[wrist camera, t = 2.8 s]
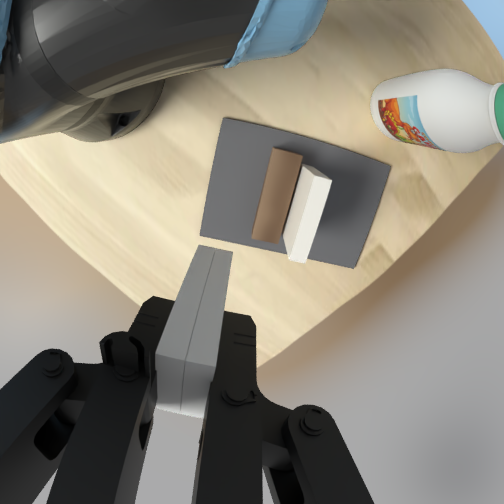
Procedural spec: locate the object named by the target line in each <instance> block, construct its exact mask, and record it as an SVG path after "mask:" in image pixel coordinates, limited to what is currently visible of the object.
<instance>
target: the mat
mask: <svg viewBox="0 0 504 504" xmlns="http://www.w3.org/2000/svg"><path fill="white" fill-rule="evenodd" d="M272 147H275V148H279V149H283V150H287V151H291V152H295V153H298V154H301V155H302V156H303V158H302V161H301V164H305V165H309V166H312V167H314V168H316V169H317V170H318V171H320V172H321V173H323V174H324V175H325V176H327V177H328V178H329V179H331V180H332V183H331V186H330V189H329V193H328V196H327V199H326V202H325V206H324V209H323V212H322V215H321V218H320V221H319V224H318V227H317V230H316V233H315V236H314V239H313V242H312V245H311V248H310V251H309V254H308V257H307V259H311V260H316V261H320V262H325V263H330V264H334V265H339V266H343V267H348V268H352V269H354V267H355V265H356V262H357V260H358V257H359V255H360V252H361V250H362V247H363V245H364V242H365V240H366V237H367V234H368V232H369V229H370V226H371V224H372V221H373V218H374V215H375V213H376V210H377V207H378V204H379V201H380V198H381V195H382V192H383V189H384V186H385V183H386V180H387V177H388V173H389V170H390V167H391V166H389V165H386V164H384V163H381V162H379V161H376V160H373V159H371V158H368V157H365V156H363V155H360V154H357V153H354V152H351V151H348V150H345V149H342V148H339V147H336V146H333V145H330V144H327V143H324V142H320V141H317V140H314V139H310V138H307V137H303V136H300V135H296V134H293V133H289V132H285V131H281V130H277V129H273V128H269V127H265V126H260V125H256V124H251V123H247V122H242V121H237V120H232V119H227V118H223V120H222V124H221V129H220V133H219V137H218V142H217V147H216V151H215V156H214V161H213V166H212V171H211V176H210V181H209V186H208V191H207V196H206V202H205V207H204V213H203V219H202V224H201V230H200V236H203V237H208V238H213V239H218V240H222V241H227V242H232V243H237V244H241V245H246V246H251V247H255V248H260V249H265V250H269V251H274V252H279V253H283V254H287V250H286V246H285V242H284V238H283V234H282V233H281V236H280V240H279V243H278V244H274V243H270V242H265V241H260V240H256V239H252V227H253V223H254V219H255V215H256V211H257V207H258V203H259V199H260V195H261V191H262V187H263V183H264V179H265V175H266V171H267V167H268V163H269V159H270V155H271V151H272Z"/></svg>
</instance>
